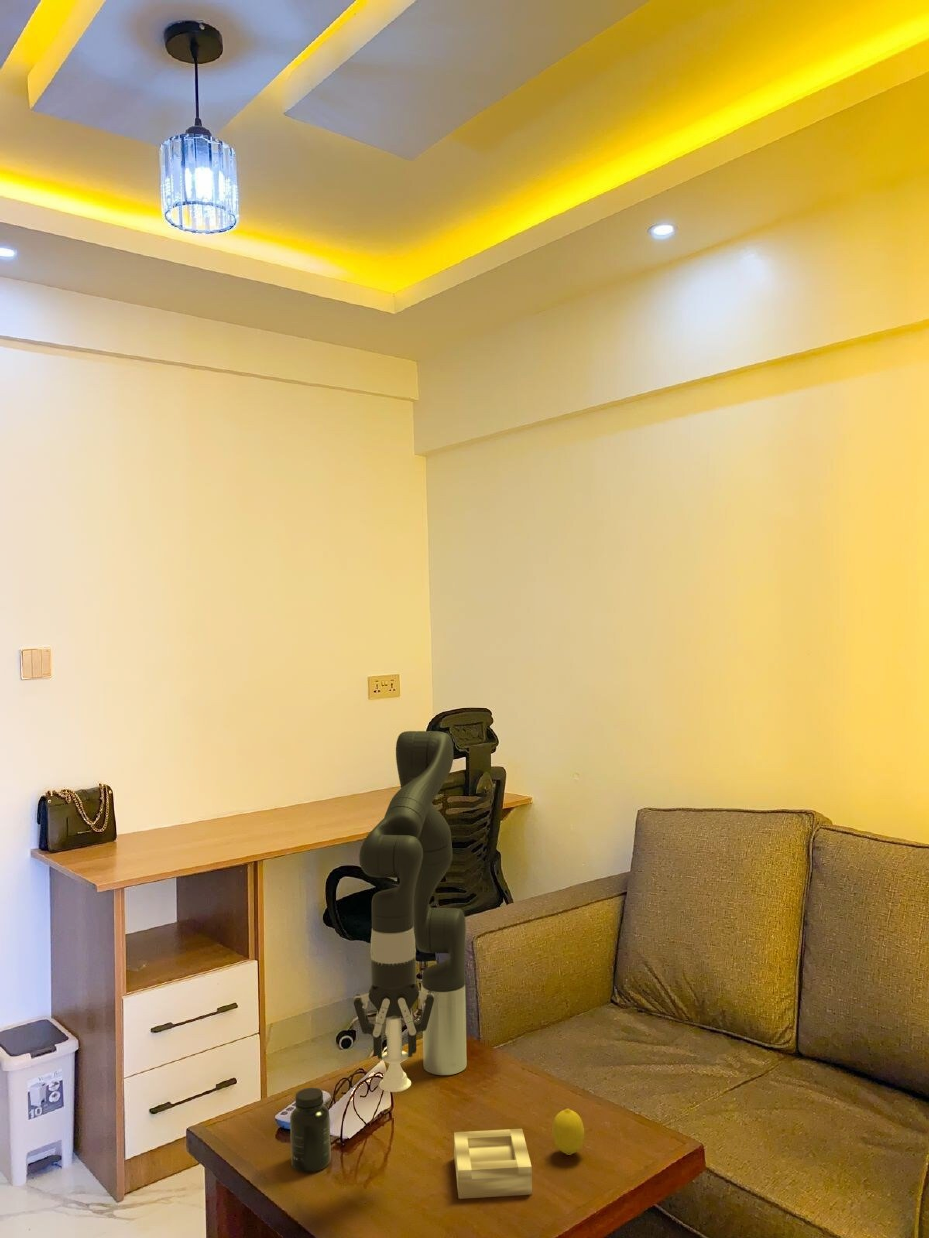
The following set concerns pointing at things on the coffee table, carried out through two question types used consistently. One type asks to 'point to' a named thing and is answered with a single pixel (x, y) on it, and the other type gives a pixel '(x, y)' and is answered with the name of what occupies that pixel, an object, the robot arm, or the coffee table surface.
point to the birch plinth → (492, 1163)
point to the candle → (394, 1057)
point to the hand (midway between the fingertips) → (395, 1055)
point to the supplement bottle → (310, 1132)
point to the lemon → (568, 1131)
